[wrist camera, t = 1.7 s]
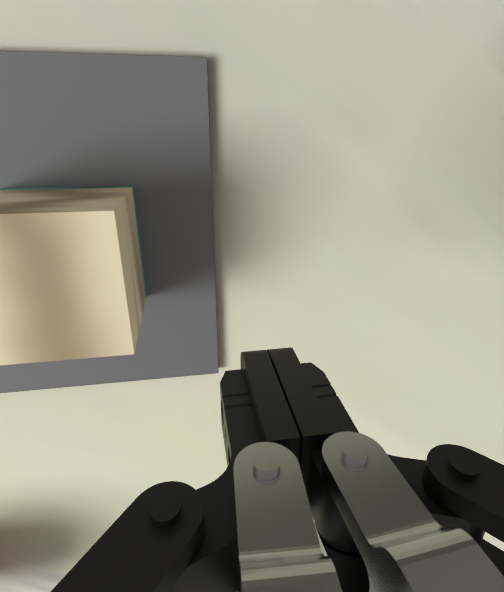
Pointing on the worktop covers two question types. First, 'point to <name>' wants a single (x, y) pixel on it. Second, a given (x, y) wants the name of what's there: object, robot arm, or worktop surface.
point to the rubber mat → (123, 172)
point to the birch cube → (69, 273)
